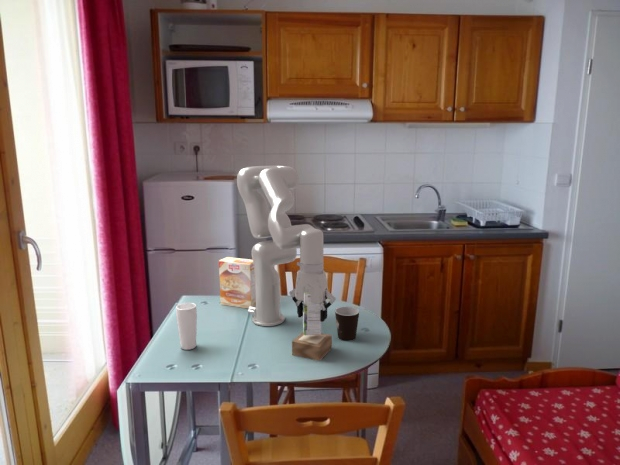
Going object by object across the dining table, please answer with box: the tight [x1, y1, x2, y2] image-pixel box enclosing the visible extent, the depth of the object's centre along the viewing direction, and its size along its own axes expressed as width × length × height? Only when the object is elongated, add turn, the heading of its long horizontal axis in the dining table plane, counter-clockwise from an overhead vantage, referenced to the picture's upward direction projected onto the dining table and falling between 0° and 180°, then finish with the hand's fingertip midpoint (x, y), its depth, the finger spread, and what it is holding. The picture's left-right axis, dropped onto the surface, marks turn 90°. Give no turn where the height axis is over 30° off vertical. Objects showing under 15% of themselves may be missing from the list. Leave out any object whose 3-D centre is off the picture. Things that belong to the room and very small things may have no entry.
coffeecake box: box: [218, 256, 256, 310], centre depth 207 cm, size 15×7×20 cm, turn 68°
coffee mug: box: [334, 306, 360, 342], centre depth 177 cm, size 12×9×10 cm
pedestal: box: [291, 332, 333, 362], centre depth 165 cm, size 10×10×5 cm
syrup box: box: [302, 293, 322, 335], centre depth 162 cm, size 6×6×14 cm
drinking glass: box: [175, 302, 198, 351], centre depth 168 cm, size 7×7×15 cm
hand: (312, 317), depth 163 cm, fingers closed on syrup box, 7 cm apart
